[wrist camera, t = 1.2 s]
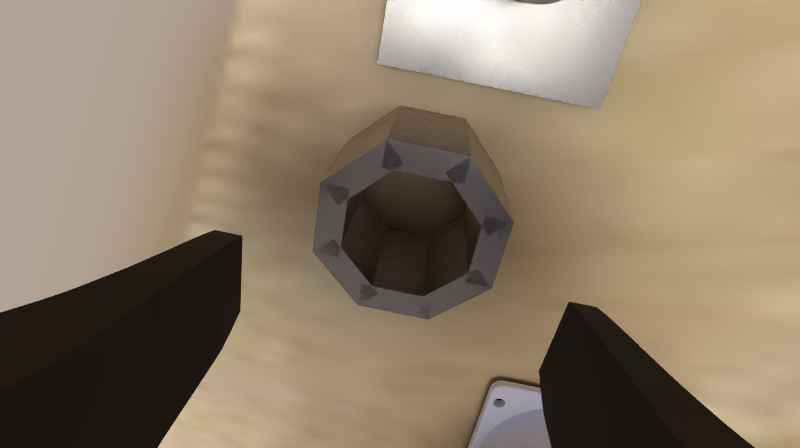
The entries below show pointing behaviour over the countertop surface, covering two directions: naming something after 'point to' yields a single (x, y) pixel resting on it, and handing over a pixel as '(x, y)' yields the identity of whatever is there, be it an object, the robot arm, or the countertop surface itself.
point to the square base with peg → (512, 43)
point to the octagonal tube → (406, 251)
